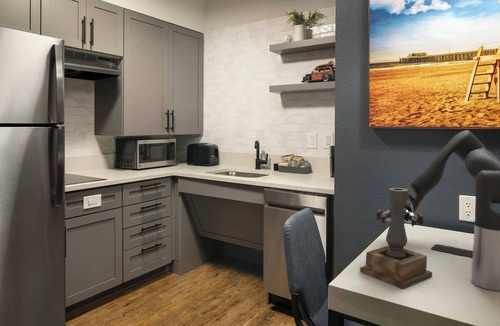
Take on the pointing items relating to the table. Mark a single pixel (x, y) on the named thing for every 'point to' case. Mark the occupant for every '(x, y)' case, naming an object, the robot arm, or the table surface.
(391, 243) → the candle holder
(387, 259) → the socket block
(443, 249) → the phone
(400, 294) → the table surface
